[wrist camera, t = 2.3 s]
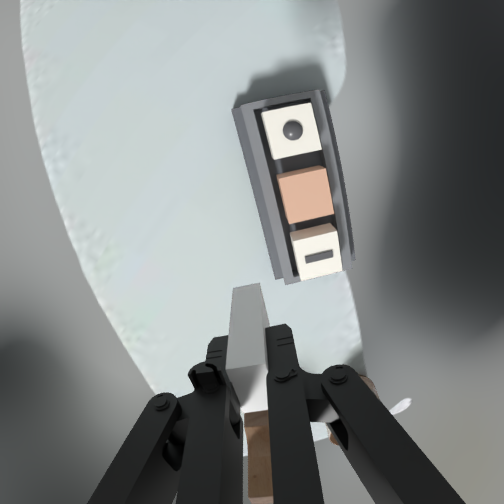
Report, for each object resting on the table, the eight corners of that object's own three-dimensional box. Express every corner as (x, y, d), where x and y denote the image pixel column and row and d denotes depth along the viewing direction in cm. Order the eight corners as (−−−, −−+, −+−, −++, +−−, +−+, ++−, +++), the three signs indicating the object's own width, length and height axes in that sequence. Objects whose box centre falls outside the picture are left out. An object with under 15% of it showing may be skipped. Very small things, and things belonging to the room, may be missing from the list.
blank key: (276, 174, 33) (278, 178, 30) (319, 165, 33) (325, 168, 30) (285, 216, 35) (289, 224, 32) (327, 206, 34) (334, 213, 32)
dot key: (260, 114, 30) (262, 112, 27) (305, 105, 30) (311, 102, 27) (271, 157, 32) (274, 160, 29) (315, 148, 32) (322, 149, 29)
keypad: (232, 110, 33) (230, 107, 30) (320, 92, 32) (328, 87, 29) (274, 272, 42) (276, 287, 38) (351, 254, 41) (360, 266, 37)
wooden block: (244, 409, 53) (243, 489, 36) (267, 406, 53) (272, 487, 36) (250, 432, 56) (251, 505, 40) (271, 430, 56) (276, 503, 39)
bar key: (289, 232, 36) (293, 242, 33) (330, 222, 35) (337, 231, 32) (297, 269, 37) (301, 281, 34) (336, 260, 37) (343, 271, 34)
